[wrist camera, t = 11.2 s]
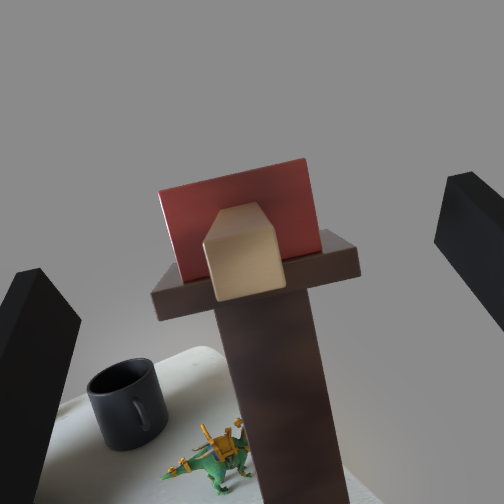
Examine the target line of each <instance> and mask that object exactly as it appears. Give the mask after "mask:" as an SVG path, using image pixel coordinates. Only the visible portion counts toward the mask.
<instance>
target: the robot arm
mask: <svg viewBox="0 0 504 504" xmlns="http://www.w3.org/2000/svg"><path fill="white" fill-rule="evenodd" d="M434 243H435V244H436V246H437V247H438V248H439V250H440V251H441V252H442V254H444V256H445V257H446V259H448V261H449V262H450V264H451V265H452V266H453V268H454V269H455V270H456V271H457V273H458V274H459V275H460V276H461V278H462V279H463V280H464V282H465V283H466V284H467V285H468V287H469V288H470V289H471V291H472V292H473V293H474V294H475V296H476V297H477V298H478V300H479V301H480V302H481V303H482V305H483V306H484V307H485V308H486V310H487V311H488V312H489V314H490V315H491V316H492V317H493V319H494V320H495V321H496V322H497V324H498V325H499V326H500V328H501V329H502V330H503V331H504V198H502V197H501V196H500V195H499V194H498V193H497V192H495V191H494V190H493V189H492V188H491V187H490V186H488V185H487V184H486V183H485V182H484V181H482V180H481V179H480V178H479V177H478V176H477V175H476V174H474V173H473V172H467V173H463V174H458V175H454V176H449V177H448V178H447V183H446V187H445V192H444V197H443V201H442V206H441V211H440V217H439V220H438V225H437V230H436V234H435V239H434ZM80 324H81V319H80V317H79V316H78V315H77V314H76V312H75V311H74V310H73V309H72V307H71V306H70V305H69V304H68V302H67V301H66V300H65V298H64V297H63V296H62V295H61V293H60V292H59V291H58V290H57V288H56V287H55V286H54V285H53V283H52V282H51V281H50V280H49V278H48V277H47V276H46V275H45V273H44V272H43V271H42V270H41V268H37V269H32V270H28V271H23V272H19V273H16V275H15V277H14V279H13V281H12V283H11V286H10V288H9V290H8V292H7V294H6V296H5V298H4V300H3V302H2V304H1V306H0V504H33V503H34V499H35V495H36V491H37V487H38V484H39V480H40V476H41V472H42V468H43V465H44V461H45V457H46V453H47V449H48V446H49V442H50V438H51V434H52V430H53V427H54V423H55V419H56V415H57V412H58V408H59V404H60V400H61V396H62V393H63V388H64V385H65V381H66V377H67V374H68V370H69V366H70V362H71V358H72V355H73V351H74V347H75V343H76V339H77V335H78V332H79V328H80Z"/></svg>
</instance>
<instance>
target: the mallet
mask: <svg viewBox="0 0 504 504" xmlns="http://www.w3.org/2000/svg"><path fill="white" fill-rule="evenodd" d="M158 195H159V199H160V203H161V207H162V210H163V214H164V218H165V221H166V225H167V229H168V232H169V236H170V240H171V243H172V247H173V251H174V254H175V258H176V262H177V265H178V269H179V273H180V276H181V280H182V282H188V281H192V280H196V279H201V278H205V277H210V276H211V280H212V284H213V288H214V292H215V296H216V299H217V301H219V302H221V301H226V300H230V299H234V298H239V297H243V296H248V295H252V294H257V293H261V292H266V291H270V290H275V289H279V288H284V287H285V286H286V280H285V275H284V271H283V266H282V261H281V260H286V259H290V258H294V257H299V256H303V255H308V254H312V253H317V252H321V251H322V250H323V248H322V243H321V237H320V232H319V227H318V221H317V216H316V211H315V205H314V200H313V194H312V189H311V184H310V179H309V173H308V168H307V163H306V159H305V158H301V159H297V160H292V161H288V162H284V163H280V164H275V165H271V166H266V167H262V168H258V169H253V170H249V171H244V172H240V173H235V174H231V175H226V176H222V177H218V178H214V179H209V180H205V181H200V182H196V183H192V184H187V185H183V186H179V187H174V188H169V189H165V190H161V191H158Z"/></svg>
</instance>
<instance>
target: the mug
mask: <svg viewBox="0 0 504 504" xmlns="http://www.w3.org/2000/svg"><path fill="white" fill-rule="evenodd" d="M87 393H88V396H89V399H90V401H91V404H92V407H93V410H94V413H95V416H96V418H97V421H98V424H99V427H100V430H101V433H102V435H103V438H104V441H105V444H106V445H107V446H108V447H109V448H110V449H112V450H116V451H125V450H130V449H134V448H137V447H139V446H141V445H144V444H145V443H147V442H149V441H150V440H152V439H153V438H155V437H156V436H157V435H158V434H159V433H160V432H161V431H162V430H163V429H164V427H165V426H166V424H167V421H168V411H167V408H166V405H165V401H164V398H163V395H162V391H161V388H160V385H159V382H158V378H157V375H156V372H155V369H154V365H153V363H152V361H150V360H149V359H145V358H135V359H130V360H126V361H122V362H120V363H117V364H115V365H112V366H111V367H109V368H106V369H105V370H103V371H101V372H100V373H98V374H97V375H96V376H95V377H94V378H93V379H92V380H91V381H90V382H89V384H88V385H87Z"/></svg>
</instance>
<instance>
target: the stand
mask: <svg viewBox="0 0 504 504" xmlns="http://www.w3.org/2000/svg"><path fill="white" fill-rule="evenodd" d="M319 232H320V237H321V243H322V248H323V250H322V251H321V252H317V253H312V254H308V255H303V256H299V257H294V258H290V259H286V260H281V261H282V266H283V271H284V275H285V280H286V286H285V287H284V288H279V289H275V290H270V291H266V292H261V293H257V294H252V295H248V296H243V297H239V298H234V299H230V300H226V301H221V302H219V301H217V299H216V296H215V292H214V288H213V284H212V280H211V276H210V277H205V278H201V279H196V280H192V281H188V282H182V280H181V276H180V273H179V269H178V265H177V263H173V264H172V265H171V266H170V268H169V269H168V270H167V272H166V273H165V274H164V276H163V277H162V278H161V280H160V281H159V282H158V284H157V285H156V286H155V288H154V289H153V290H152V292H151V298H152V302H153V305H154V309H155V312H156V315H157V319H158V321H164V320H168V319H173V318H177V317H182V316H186V315H190V314H195V313H199V312H203V311H208V310H213V309H214V313H215V317H216V321H217V325H218V328H219V332H220V336H221V340H222V344H223V347H224V351H225V356H226V359H227V363H228V367H229V371H230V375H231V379H232V383H233V386H234V390H235V394H236V398H237V402H238V406H239V410H240V414H241V417H242V421H243V425H244V429H245V433H246V437H247V441H248V444H249V448H250V452H251V456H252V460H253V464H254V468H255V471H256V475H257V479H258V483H259V487H260V491H261V495H262V499H263V502H264V504H350V501H349V496H348V491H347V486H346V481H345V476H344V471H343V466H342V461H341V456H340V451H339V446H338V441H337V436H336V431H335V426H334V421H333V416H332V411H331V406H330V401H329V396H328V392H327V386H326V381H325V376H324V372H323V367H322V361H321V356H320V351H319V346H318V341H317V336H316V331H315V326H314V321H313V316H312V311H311V306H310V301H309V296H308V291H307V288H311V287H316V286H320V285H325V284H329V283H333V282H338V281H343V280H347V279H351V278H356V277H360V276H361V270H360V264H359V258H358V252H357V247H355V246H354V245H352V244H351V243H349V242H347V241H345V240H344V239H342V238H341V237H339V236H338V235H336V234H334V233H333V232H331V231H329V230H328V229H324V230H320V231H319Z"/></svg>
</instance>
